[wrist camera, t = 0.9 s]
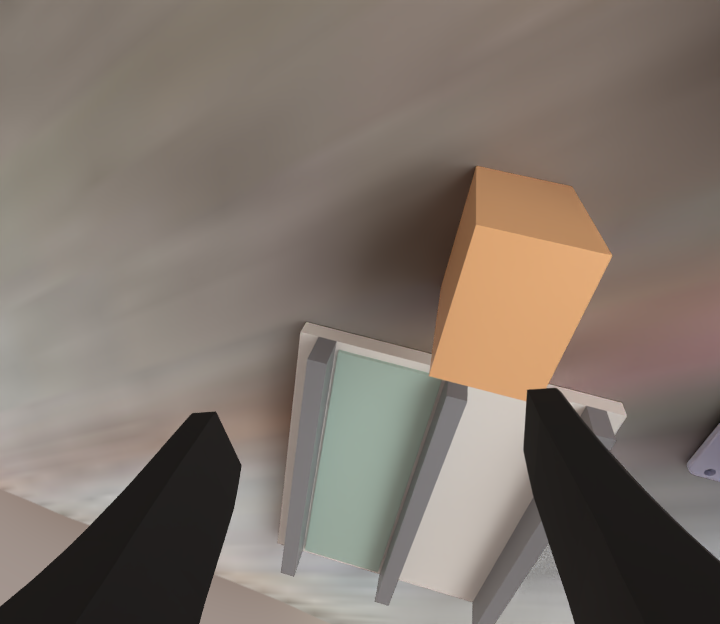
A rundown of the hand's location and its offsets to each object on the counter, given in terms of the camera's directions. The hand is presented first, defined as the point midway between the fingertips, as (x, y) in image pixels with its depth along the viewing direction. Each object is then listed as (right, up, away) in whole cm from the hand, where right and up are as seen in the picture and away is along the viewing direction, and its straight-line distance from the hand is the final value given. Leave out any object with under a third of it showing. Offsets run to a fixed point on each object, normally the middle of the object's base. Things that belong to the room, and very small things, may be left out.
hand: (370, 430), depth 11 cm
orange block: (+6, +6, +10) cm, 13 cm away
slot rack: (+3, -8, +19) cm, 21 cm away
